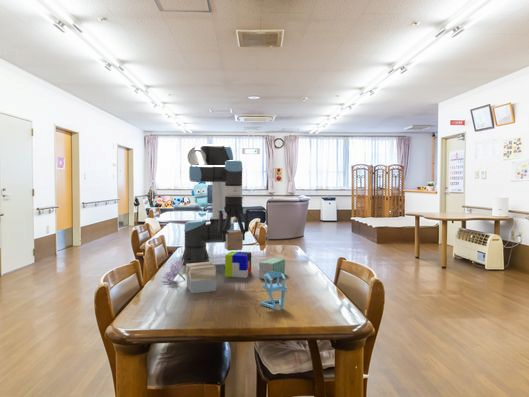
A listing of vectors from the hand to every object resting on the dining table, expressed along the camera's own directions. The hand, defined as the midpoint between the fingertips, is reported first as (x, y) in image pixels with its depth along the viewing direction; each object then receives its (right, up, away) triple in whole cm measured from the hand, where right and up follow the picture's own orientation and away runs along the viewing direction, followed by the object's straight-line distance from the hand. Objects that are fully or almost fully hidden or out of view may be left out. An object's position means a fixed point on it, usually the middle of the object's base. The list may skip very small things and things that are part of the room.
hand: (233, 248), depth 166 cm
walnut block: (0, 0, 0) cm, 0 cm away
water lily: (-27, -15, +2) cm, 31 cm away
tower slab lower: (-12, -15, -11) cm, 23 cm away
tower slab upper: (-13, -10, -11) cm, 20 cm away
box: (+17, -15, +11) cm, 25 cm away
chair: (+17, -16, -33) cm, 40 cm away
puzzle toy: (+1, -14, +14) cm, 20 cm away
